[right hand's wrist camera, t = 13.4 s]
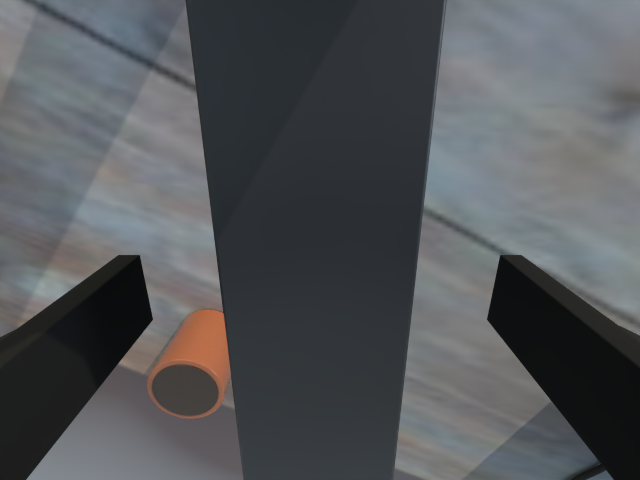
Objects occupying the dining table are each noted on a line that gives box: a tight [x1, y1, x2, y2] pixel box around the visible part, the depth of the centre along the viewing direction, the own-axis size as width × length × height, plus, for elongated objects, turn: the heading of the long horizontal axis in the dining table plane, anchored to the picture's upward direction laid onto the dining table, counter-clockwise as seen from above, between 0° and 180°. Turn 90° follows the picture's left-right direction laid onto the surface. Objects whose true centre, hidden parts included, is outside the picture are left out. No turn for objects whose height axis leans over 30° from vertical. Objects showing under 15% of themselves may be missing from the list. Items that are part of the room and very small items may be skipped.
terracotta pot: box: [147, 310, 231, 419], centre depth 35 cm, size 7×7×8 cm
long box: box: [186, 0, 447, 480], centre depth 10 cm, size 26×4×9 cm, turn 0°
